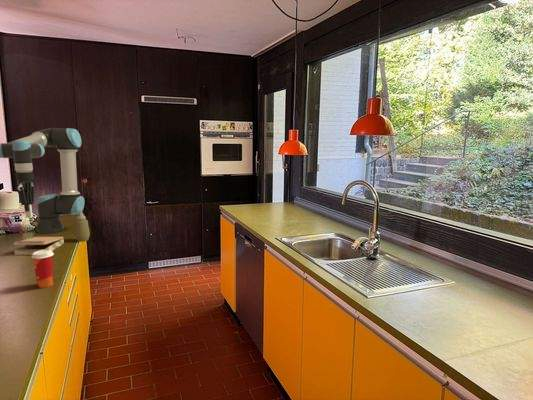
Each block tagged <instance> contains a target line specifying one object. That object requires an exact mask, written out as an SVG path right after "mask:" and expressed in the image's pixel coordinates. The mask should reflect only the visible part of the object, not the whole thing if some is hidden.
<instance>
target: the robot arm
mask: <svg viewBox="0 0 533 400" xmlns="http://www.w3.org/2000/svg"><path fill="white" fill-rule="evenodd" d="M81 137H82V136H81V134H80V133H79V130H77V129H75V128H69V127H67V128H62V127H61V128H59V127H58V128H57V127H50V128H45V129H41V130H38V131H34V132H32V133H31V134H30V135H28V136H25V137H21V138H18V139H16V140H12V141H9V142H7V143H3V142H0V159H1V158H2V159H13V161H14V170H15V171H16V172H15V171H14V172H15V179H16V180H18V186H16V187H15V189H16V191H17V195H18V197H19V202H20V205H21V206H23V207H24V215H25V218H26V219H27V218H30V219H31V218H33V209H32V208H33V207H32V205H34V202H35V187H36V184H35V183H33V181H32V180H34V172H33V170H34V167H33V159H39V158H42V157H43V156H44V155H45V152H46V151H45V148H56V150H57V152H59V157H60V159H59V160H60V173H61V175H60V176H61V192H60V193H59V194H58V193H51V194H45V195H40V196H38V197H37V199H36V205H37V215H38V222H37V226H36V233H37V234H52V233H53V234H54V233H57V232H58V233H59V232H62V231H64V229H65V228H64V224H63V221H62V219H61V217H60V215H62V216H64V215H72V216H74V215H75V216H76V215H79V211H80V210H82V212H83V210H84V208H85V197H84V196H82V195H81V193H80V191H79V190H78V175H77V174H78V172H77V158H76V157H77V156H76V155H77V154H76V153H77V152H79V148H81V146H82V138H81Z"/></svg>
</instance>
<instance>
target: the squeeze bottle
mask: <svg viewBox="0 0 533 400" xmlns="http://www.w3.org/2000/svg"><path fill="white" fill-rule="evenodd" d="M90 234H91V232H90V227H89V221H88V219H87V217H86V215H84V213H83V211H82V210H80V211H79V214H78V215H77V216H76V220H75V221H74V237H75V239H76V242H79V243H83V242H88V241H89V238H90Z"/></svg>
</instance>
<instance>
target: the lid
mask: <svg viewBox="0 0 533 400" xmlns="http://www.w3.org/2000/svg"><path fill="white" fill-rule="evenodd" d="M60 239H64V236H34V237H29V238H26V239H23V240H19V241H16V242H13V246H24V245H35V246H37V245H38V246H44V245H49V244H48V243H51V242H54V241H57V240H60Z"/></svg>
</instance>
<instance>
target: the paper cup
mask: <svg viewBox="0 0 533 400" xmlns="http://www.w3.org/2000/svg"><path fill="white" fill-rule="evenodd" d="M54 255H55V253H54V252H53V250H52V251H51V250H49V251H48V250H45V251H44V250H41V251H36V252H34V253H33V255H31V259H32V262H33V263H32V264H33V269H34V273H35V275H34V276H35V279H36V285H37V288H39V289H46V288H50V287H51V286H53V285H54Z"/></svg>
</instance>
